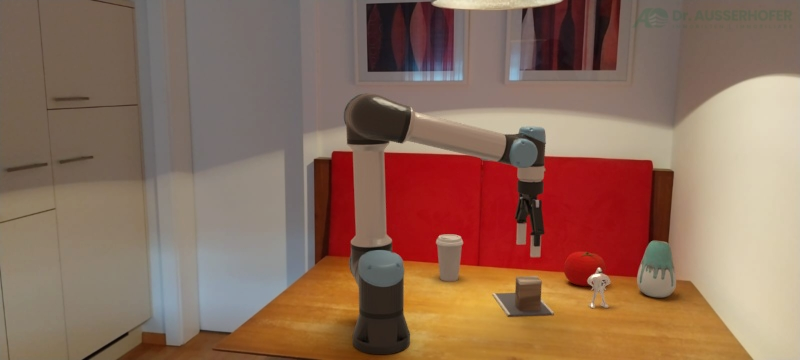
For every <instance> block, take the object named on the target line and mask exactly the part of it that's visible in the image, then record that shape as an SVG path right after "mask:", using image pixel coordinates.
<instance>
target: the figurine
mask: <svg viewBox="0 0 800 360" xmlns="http://www.w3.org/2000/svg"><path fill="white" fill-rule="evenodd" d="M592 281H593V284H592ZM587 282H588V284H589V285H590V286H591V287H592V288H591V289H590V290H589V291H593V294H592V299H591V302H589V304H588V307H589V308H590V309H595V308H596V304H595V301H596V298H597V295H598V294H599V293H600V297H601V302H600V304H599V305H600V307H602V308H604V309H605V308H606V309H608V308H609V304H608V303H606V300H605V291H607V289H606V286H608V285H610V284H611V279H610V277H609V276H608V275H607V274H606V273H605V274H602V270H601V268H597V270H596V273H595V274H593V275H591V276H590V277H589V278H588V280H587Z"/></svg>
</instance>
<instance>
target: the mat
mask: <svg viewBox="0 0 800 360" xmlns="http://www.w3.org/2000/svg"><path fill="white" fill-rule="evenodd" d="M492 297H493V298H494V300H495V301H496V302H497V304H498V305H499V307H500V308H501V309H502V311H503V312H504V313H505V314H504V315H506V316H507V318H508V317H510V318H511V317H533V316H534V317H535V316H536V317H537V316H554V315H555V312H554V311H553V310H552V309H551V308H550V307H549V305H548V304H547V303H546V302H545V301H544V300H543V299H542V298H541V309H540V310H526V311H519V310H518V308H517V307H516V306H515V292H501V293H500V292H499V293H495V292H492Z"/></svg>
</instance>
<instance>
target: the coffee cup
mask: <svg viewBox="0 0 800 360" xmlns="http://www.w3.org/2000/svg"><path fill="white" fill-rule="evenodd" d="M435 244H436V245H437V257H438V260H437V261H438V272H439V279H440V280H441V281H443V282H455V281H458V280H459V276H460V275H459V274H460V265H461V257H462V250H463V249H462V246H463V244H464V241H463V239H462V236H461V235H457V234H452V233H451V234H450V233H448V234H445V233H444V234H439V236H438V237H437V238H436V241H435Z"/></svg>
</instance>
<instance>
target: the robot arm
mask: <svg viewBox="0 0 800 360" xmlns="http://www.w3.org/2000/svg"><path fill="white" fill-rule="evenodd" d="M343 121H344V124H345V126H346V128H345V129H346V145H347V146H348V147H349V148H350V149H351V150H352V163H353V164H352V167H353V189H354V192H353V193H354V194H353V195H354V219H355V220H354V221H355V235H354V237H353V238H352V239H351V240H350V256H349V262H348V266H349V270H350V273H351V276H352V277H353V278H354V280H355V283H356V284H357V287H358V317H357V320H356V323H355V325H354V330H353V333H352V344H353V347H354V348H355V349H357V350H358V351H360V352H363V353H366V354H371V355H389V354H390V355H391V354H395V353H398V352H401V351H405V349H407V348H408V347H409V346H410V344H411V332H410V329H409V326H408V323H407V321H406V317H405V315H404V313H405V312H404V306H405V305H404V295H405V294H404V292H405V291H404V289H405V288H404V285H405V284H404V283H405V282H404V281H405V280H404V278H405V277H404V275H405V267H404V260H403V258H402V257H401V255H399V254H397V253H396V252H393V239H392V238H391V237H390V236H389V235H388V234H387V208H386V207H387V205H386V203H387V200H386V169H385V167H386V166H385V149H386V147H388V145H390V143H398V144H401V145H402V144H405V143H406V142H410V143H414V144H415V143H416V144H419V145H422V146H423V145H425V146H428V147H433V148H437V149H440V150H446V151H448V152H449V151H450V152H454V153H456V154H457V153H458V154H463V155H467V156H469V157H476V158H480V160H482V161H489V162H497V163H501V164H504V165H507V166H508V165H510V166H512V167H514V168H517V173H516V174H517V175H516V176H517V177H516V178H518V180H517V184H516V188H517V189H516V192H517V193H518V201H517V205H516V210H515V214H514V219H515V221H516V242H515V243H516V245H518V246H519V245H526V243H527V223H528V220H527V218H528V216H529V223H530V228H531V232H530V234H529V235H530V251H529V252H530V253H529V256H530V258H540V257H541V252H542V251H541V248H542V247H541V246H542V235H545V226H544V216H543V207H542V206H543V205H542V203H543V202H542V199H538V196H539V195H542V194H543V193H544V188H545V187H544V186H545V185H544V184H545V182H544V181H543V180H544V177H545V173H544V172H546V168H545V161H546V160H545V158H546V144H547V142H546V141H547V140H546V130H545V128H544V127H541V126H521V127H519V131H518V133H514V134H512V133H511V134H510V133H509V134H508V133H506V134H505V133H501V132H496V131H493V130H489V129H485V128H481V127H477V126H473V125H469V124H465V123H461V122H457V121H452V120H449V119H446V118H440V117H437V116H432V115H429V114H424V113H421V112H417V111H414V109H413V107H411V106H409V105H406V104H402V103H398V102H397V101H393V100H391V99H389V98H387V97H384V96H382V95H379V94H374V93H368V92H364V93H360V94H357V95H355V96H354V97H351V98H350V100H349V101H348V102H347V104H346V105H345V108H344V111H343Z"/></svg>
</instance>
